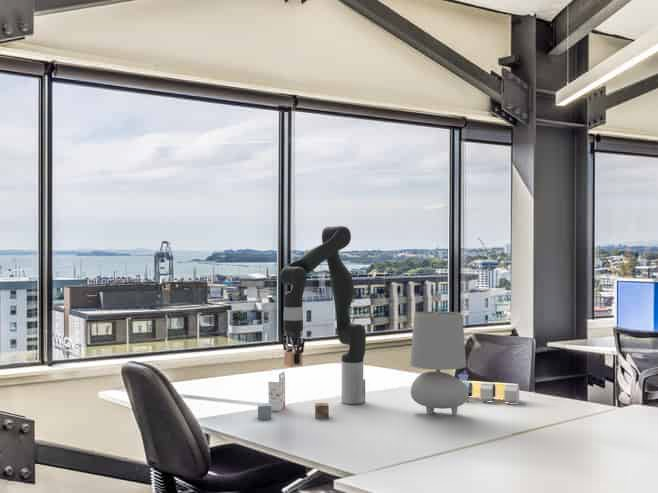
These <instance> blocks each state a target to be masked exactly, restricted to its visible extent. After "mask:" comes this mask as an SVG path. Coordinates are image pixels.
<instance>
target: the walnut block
mask: <svg viewBox="0 0 658 493" xmlns="http://www.w3.org/2000/svg"><path fill="white" fill-rule="evenodd" d="M329 410H330V408H329V403H328V402H315V403H314V417H315V420H316V419H321V418H326V419H329V418H330V415H329V412H330V411H329ZM321 420H322V419H321Z"/></svg>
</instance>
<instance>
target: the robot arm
mask: <svg viewBox="0 0 658 493" xmlns="http://www.w3.org/2000/svg"><path fill="white" fill-rule="evenodd" d="M351 240H352V233H351V230H350V229H349V228H348V227H347V226H344V225H334V226H330V225H329V226H326V227H324V228H323V229H322V232H321V244H319V245H317V246H315V247H313V248H311V249H310V250H308V251H306V252H305V253H304V254H303V255H301V257H300V258H298V259H297V260H294V261H293V262H291V263H288V264H287V265H285V266H284V267H283V268H282V269H281V271H280V274H279V279H280V280H279V281H281V283H282V284H284V285H286V286H292V287H291V290H290V291H286V292H285V293H284V297H283V301H284V303H283V308H284V309H283V331H284V332H285V333H286V334H282V335H281V338H282V347H283V348H282V349H283V351H285V352H292V351H294V364H300V354H301V353H302V354H303V353H304V349H305V343H306V342H305V340H306V339H305V338H306V337H301V332H302V331H304V310H303V296H304V292H305V288H306V284H307V282H308V281H307V280H308V277H307V275H308V274H311V273H312V272H313V271H314V270H315V269H316V268H318V266H319V265H320V264H322V263H323V262H324V261H327V265H328V266H327V268H328V271H329V278H330V284H331V285H330V286H331V290H332V291H331V292H332V296H333V300H334V301H333V302H334V307H335V308H334V309H335V319H336V321H335V322H336V332H337V338H338V340H339V342H340V343H341V344H342V345H346V346H349V348H348V351H347V352H345V353H343V354H342V355H341V403H343V404H346V405H358V404H363V403H366V379H365V378H364V358H365V355H366V342H367V339H366V338H367V334H366V329H365V327H364V325H362V324H361V323H360V324H359V323H352V322H351V316H350V309H351V306H352V302H353V300H354V296H355V286H354V280H353V276H352V273H351V272H350V271H349V269H348V268H347V267H346V265H345V264H344V262H343V260H342V259H341V256H340V253H339V251H341V250H343V249H345V248H346V247H348V245H349V244H350V243H351Z"/></svg>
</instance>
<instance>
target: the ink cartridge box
mask: <svg viewBox="0 0 658 493" xmlns="http://www.w3.org/2000/svg"><path fill="white" fill-rule="evenodd" d="M285 374H286V373H285V371H281V372H280V373H279V374H278V377H274V378H272V379H270V380H269V381H268V382H267V383H268V403H271V412H272V411H274V412H275V411H276V412H280V411H282V410H283V409H284V408H285V407H286V376H285Z"/></svg>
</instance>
